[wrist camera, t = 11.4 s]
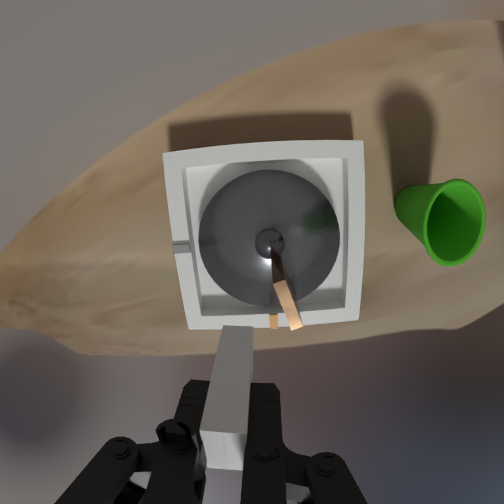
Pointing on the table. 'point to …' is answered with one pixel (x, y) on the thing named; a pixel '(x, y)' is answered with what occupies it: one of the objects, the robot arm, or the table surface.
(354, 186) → the white square tray
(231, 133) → the table surface
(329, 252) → the dial
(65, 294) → the table surface
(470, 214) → the cup
